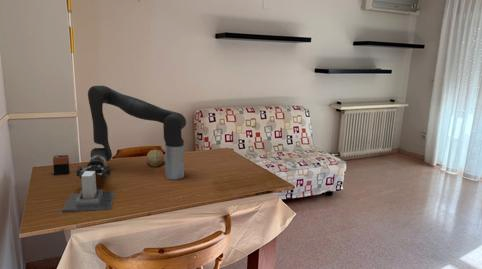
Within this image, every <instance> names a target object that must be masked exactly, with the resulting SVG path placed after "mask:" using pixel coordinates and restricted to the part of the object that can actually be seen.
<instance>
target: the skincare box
mask: <svg viewBox="0 0 482 269" xmlns="http://www.w3.org/2000/svg"><path fill="white" fill-rule="evenodd" d="M96 176H97V175H95V171H85V172H84V173H83V175H82V176H81V178H80V180H81V190H82V193H83V199H93V198H96V197H97V191H96V189H97V180H96V179H97V178H96Z"/></svg>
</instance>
